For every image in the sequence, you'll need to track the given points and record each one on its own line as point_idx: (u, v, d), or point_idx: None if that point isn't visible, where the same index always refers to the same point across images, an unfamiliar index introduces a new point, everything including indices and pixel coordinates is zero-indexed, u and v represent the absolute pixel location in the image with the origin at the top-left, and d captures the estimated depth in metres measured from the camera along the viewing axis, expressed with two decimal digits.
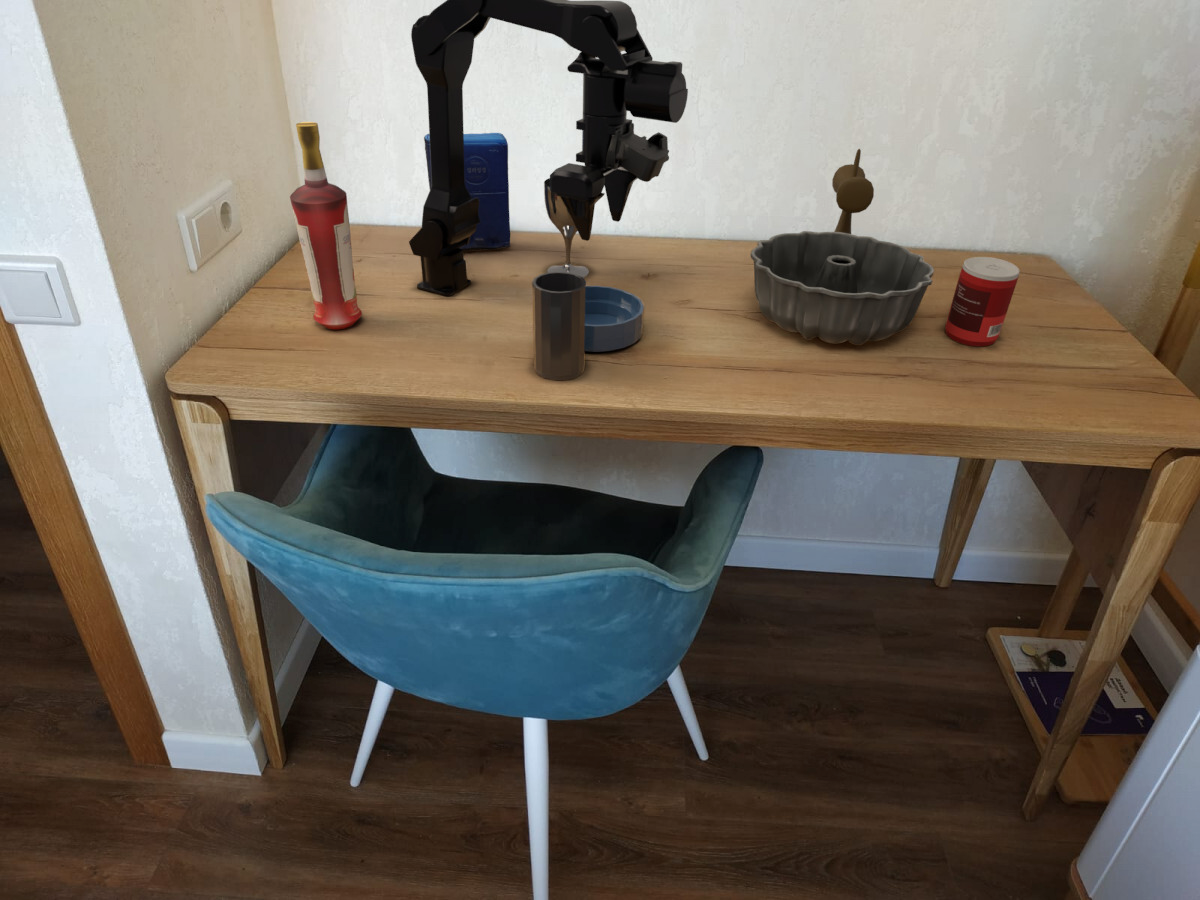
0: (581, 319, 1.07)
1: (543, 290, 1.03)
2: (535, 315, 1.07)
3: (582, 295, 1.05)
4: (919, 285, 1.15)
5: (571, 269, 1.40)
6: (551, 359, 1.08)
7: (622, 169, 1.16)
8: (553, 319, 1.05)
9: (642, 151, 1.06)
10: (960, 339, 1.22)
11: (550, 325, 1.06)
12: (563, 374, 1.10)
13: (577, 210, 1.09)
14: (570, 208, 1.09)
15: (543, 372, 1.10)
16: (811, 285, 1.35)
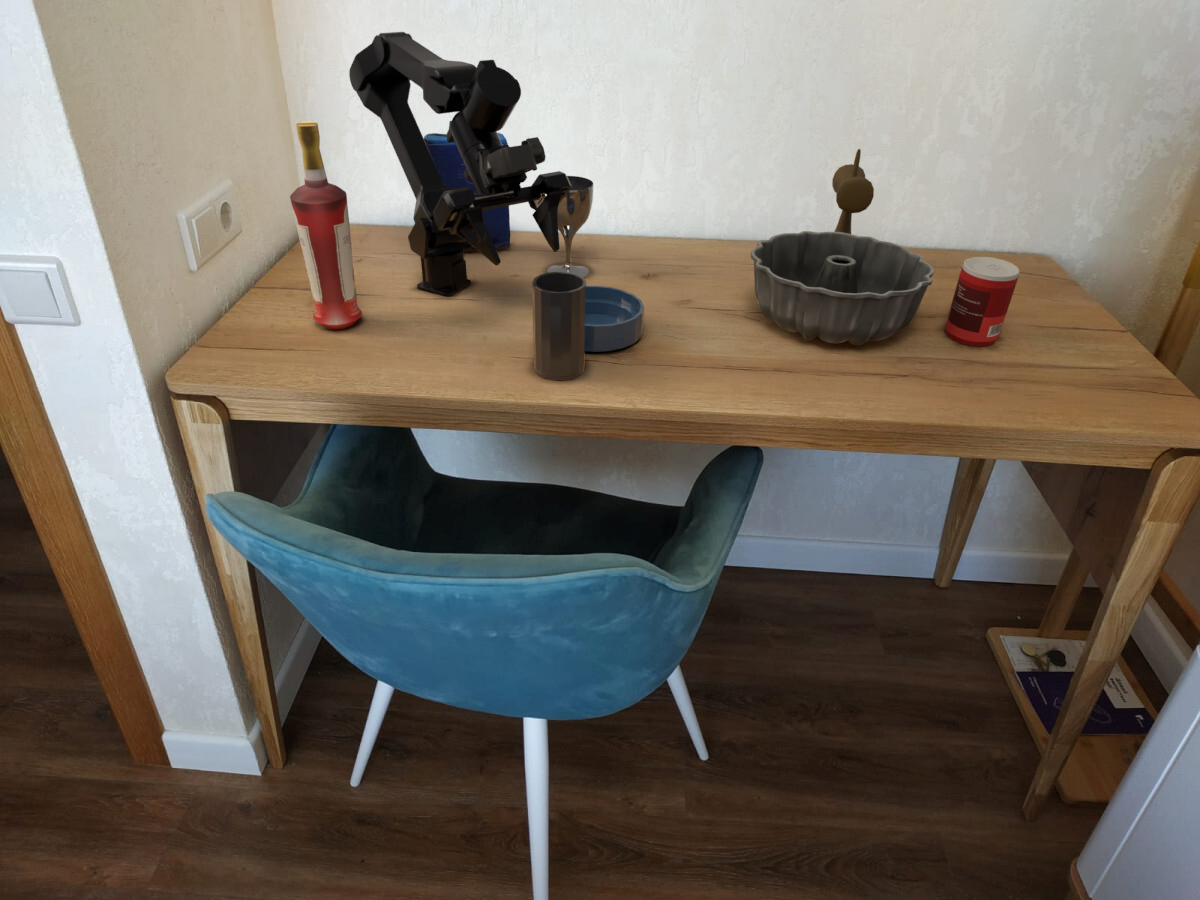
0: (581, 319, 1.07)
1: (543, 290, 1.03)
2: (535, 315, 1.07)
3: (582, 295, 1.05)
4: (919, 285, 1.15)
5: (571, 269, 1.40)
6: (551, 359, 1.08)
7: None
8: (553, 319, 1.05)
9: None
10: (960, 339, 1.22)
11: (550, 325, 1.06)
12: (563, 374, 1.10)
13: (475, 238, 1.08)
14: (471, 241, 1.09)
15: (543, 372, 1.10)
16: (811, 285, 1.35)
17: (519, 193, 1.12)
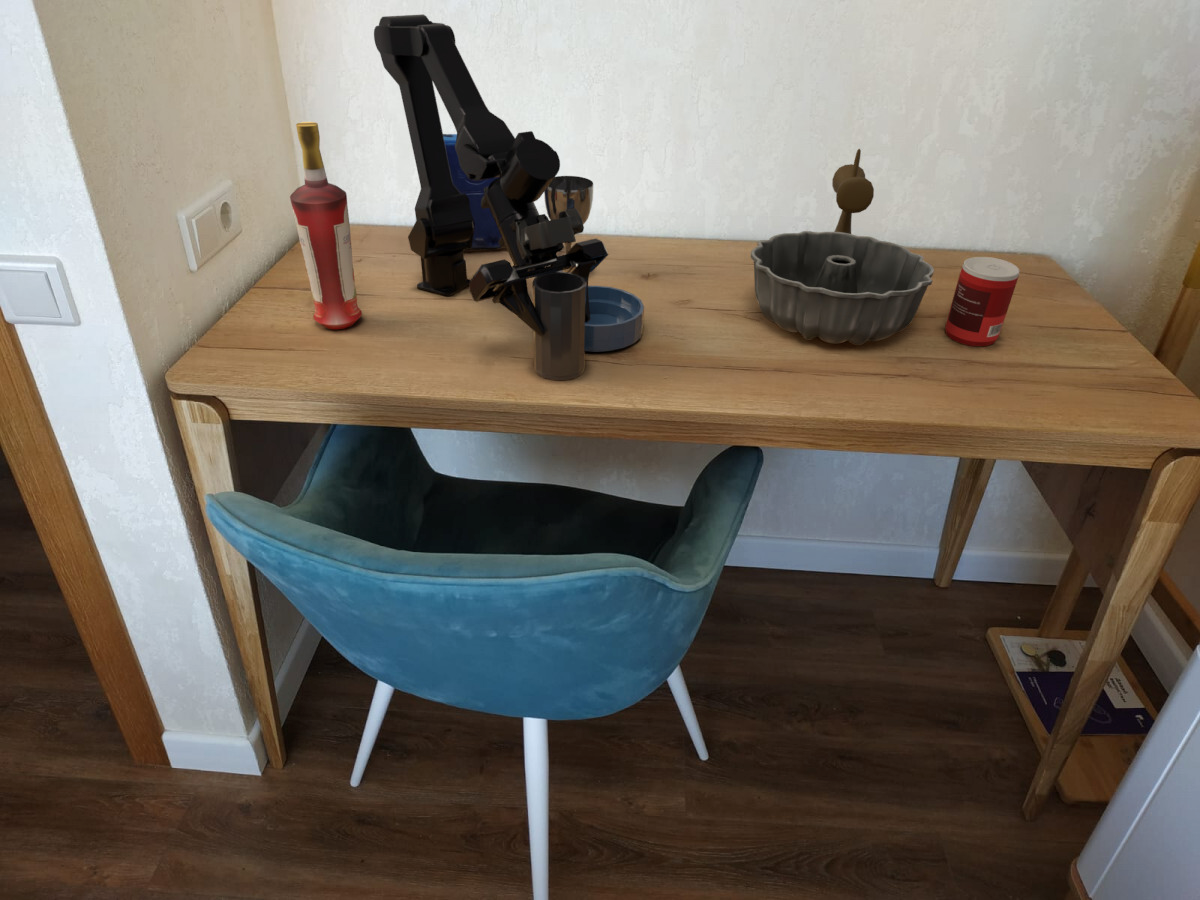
0: (581, 319, 1.07)
1: (543, 290, 1.03)
2: None
3: (582, 295, 1.05)
4: (919, 285, 1.15)
5: None
6: (551, 359, 1.08)
7: (572, 271, 1.11)
8: (553, 319, 1.05)
9: None
10: (960, 339, 1.22)
11: (550, 325, 1.06)
12: (563, 374, 1.10)
13: (519, 308, 1.07)
14: (514, 310, 1.07)
15: (543, 372, 1.10)
16: (811, 285, 1.35)
17: (555, 262, 1.10)
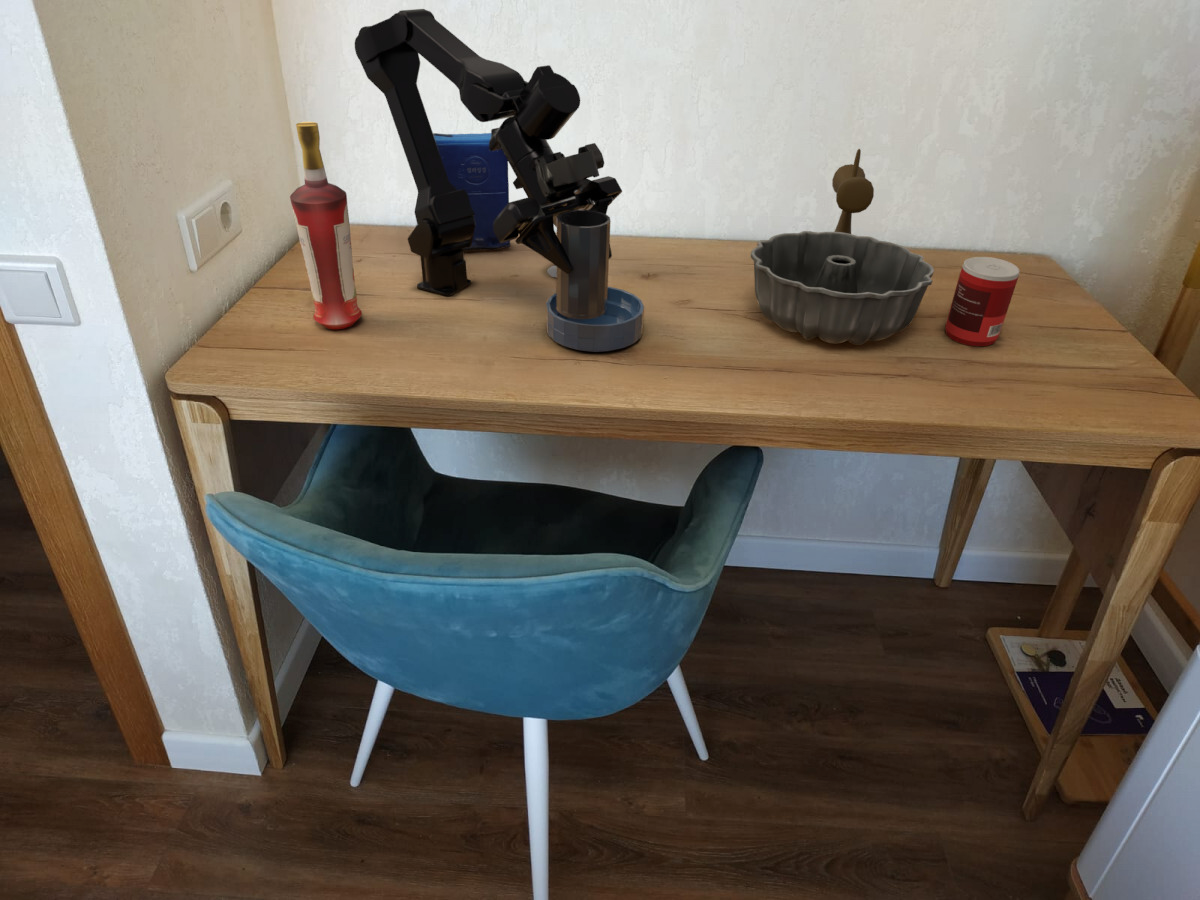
0: (607, 255, 1.07)
1: (571, 226, 1.03)
2: None
3: (608, 230, 1.05)
4: (919, 285, 1.15)
5: None
6: (579, 297, 1.08)
7: (589, 209, 1.11)
8: (581, 255, 1.05)
9: None
10: (960, 339, 1.22)
11: (578, 261, 1.05)
12: (590, 312, 1.10)
13: (545, 247, 1.06)
14: (539, 250, 1.06)
15: (569, 312, 1.10)
16: (811, 285, 1.35)
17: (573, 200, 1.09)
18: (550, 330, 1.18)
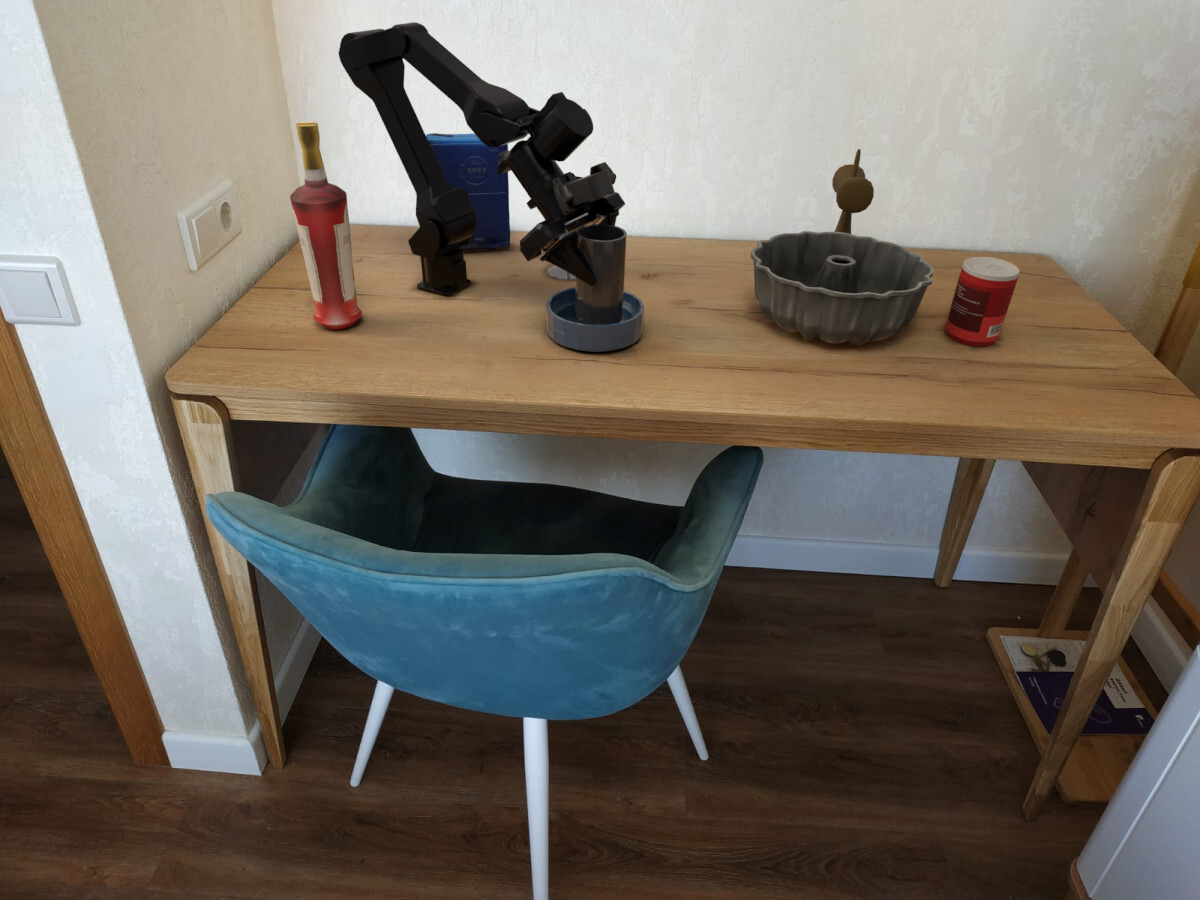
0: (624, 265, 1.15)
1: (595, 241, 1.10)
2: None
3: None
4: (919, 285, 1.15)
5: None
6: (602, 306, 1.15)
7: (597, 223, 1.18)
8: (605, 267, 1.12)
9: (580, 179, 1.09)
10: (960, 339, 1.22)
11: (602, 273, 1.13)
12: (611, 319, 1.17)
13: (568, 262, 1.12)
14: (562, 265, 1.13)
15: (592, 321, 1.17)
16: (811, 285, 1.35)
17: (584, 216, 1.16)
18: (550, 330, 1.18)
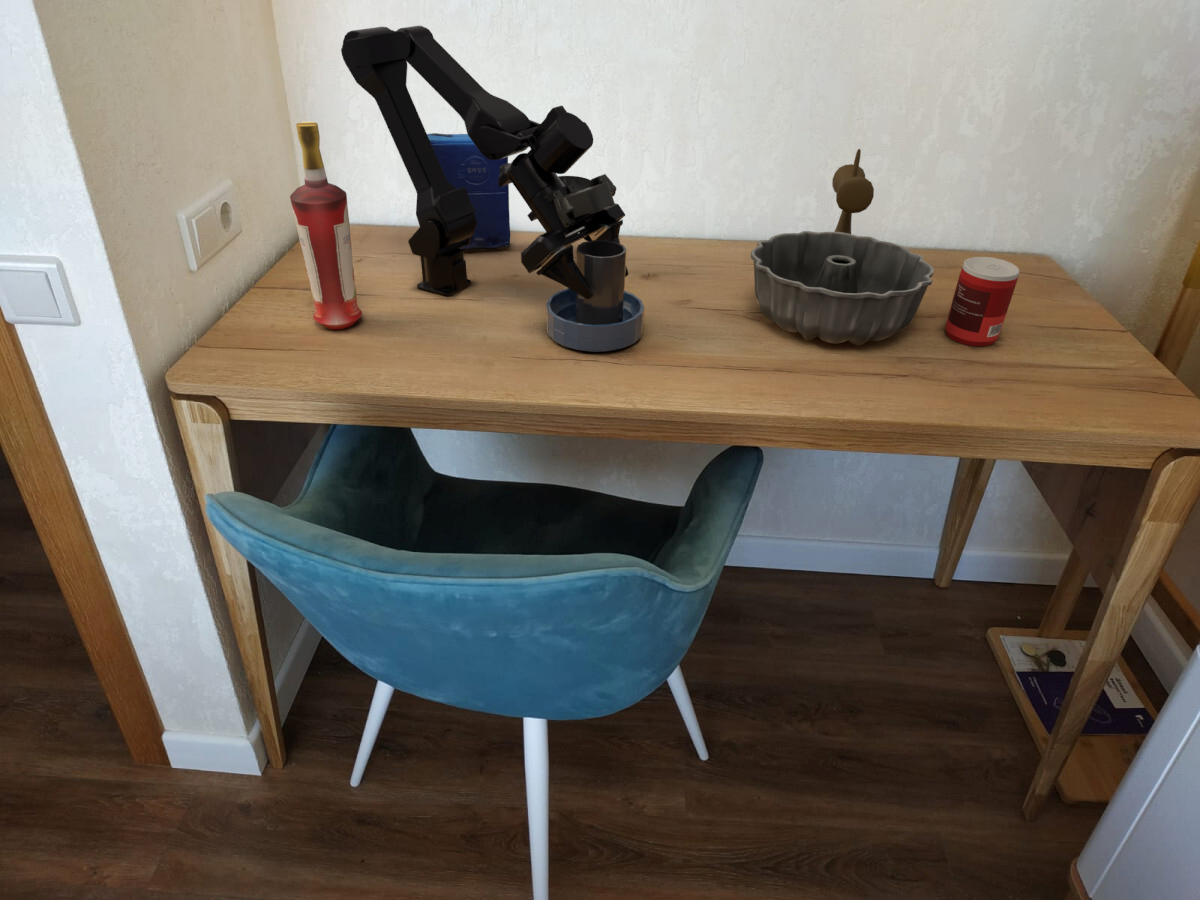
0: (624, 280, 1.16)
1: (595, 257, 1.12)
2: None
3: (625, 258, 1.15)
4: (919, 285, 1.15)
5: None
6: (602, 321, 1.17)
7: (602, 232, 1.20)
8: (605, 283, 1.14)
9: (580, 191, 1.10)
10: (960, 339, 1.22)
11: (601, 289, 1.14)
12: None
13: (565, 276, 1.13)
14: (559, 279, 1.13)
15: None
16: (811, 285, 1.35)
17: (584, 228, 1.17)
18: (550, 330, 1.18)
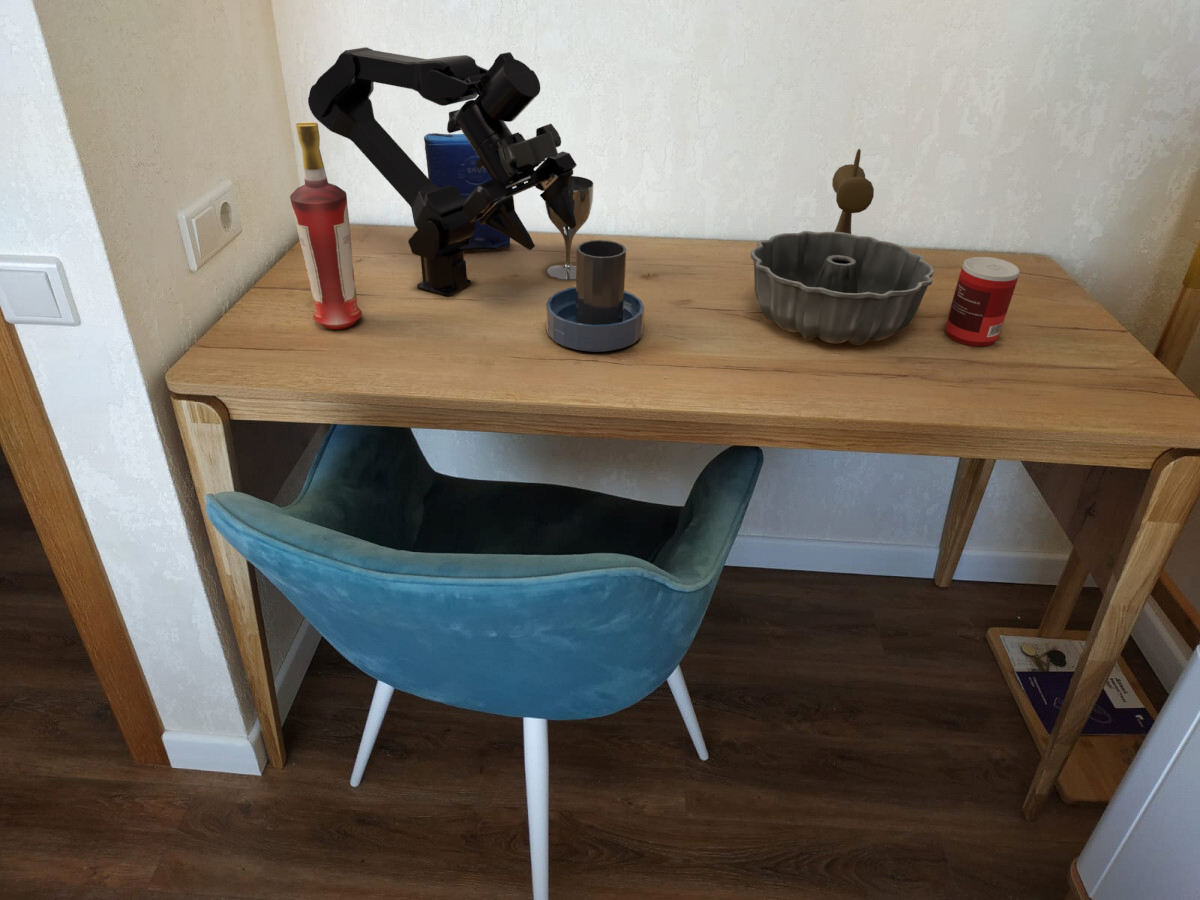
0: (624, 280, 1.16)
1: (595, 257, 1.12)
2: (584, 282, 1.14)
3: (625, 258, 1.15)
4: (919, 285, 1.15)
5: (571, 269, 1.40)
6: (602, 321, 1.17)
7: (552, 182, 1.20)
8: (605, 283, 1.14)
9: (522, 141, 1.10)
10: (960, 339, 1.22)
11: (601, 289, 1.14)
12: None
13: (507, 226, 1.14)
14: (501, 229, 1.15)
15: None
16: (811, 285, 1.35)
17: (532, 177, 1.18)
18: (550, 330, 1.18)
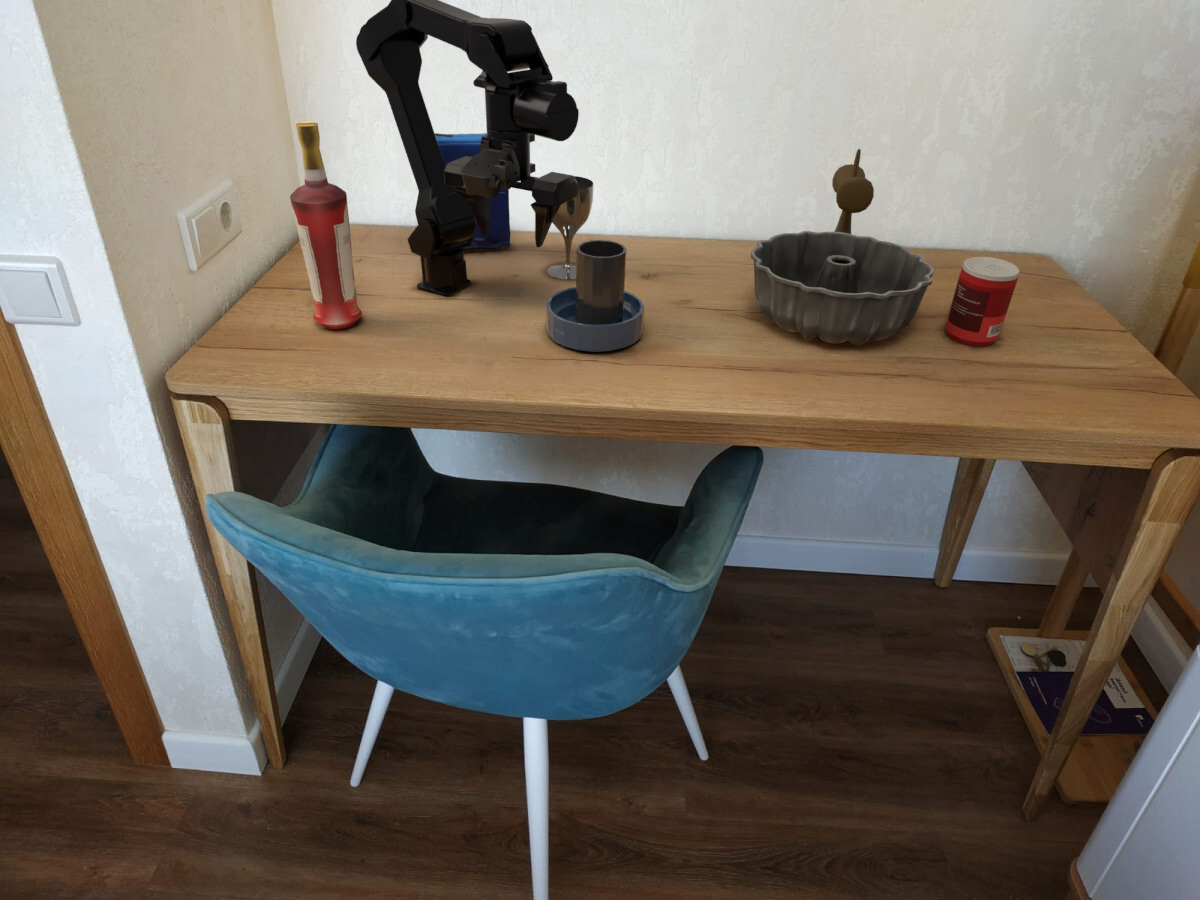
0: (624, 280, 1.16)
1: (595, 257, 1.12)
2: (584, 282, 1.14)
3: (625, 258, 1.15)
4: (919, 285, 1.15)
5: (571, 269, 1.40)
6: (602, 321, 1.17)
7: None
8: (605, 283, 1.14)
9: (471, 164, 1.08)
10: (960, 339, 1.22)
11: (601, 289, 1.14)
12: None
13: None
14: None
15: None
16: (811, 285, 1.35)
17: (523, 182, 1.13)
18: (550, 330, 1.18)
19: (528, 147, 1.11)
